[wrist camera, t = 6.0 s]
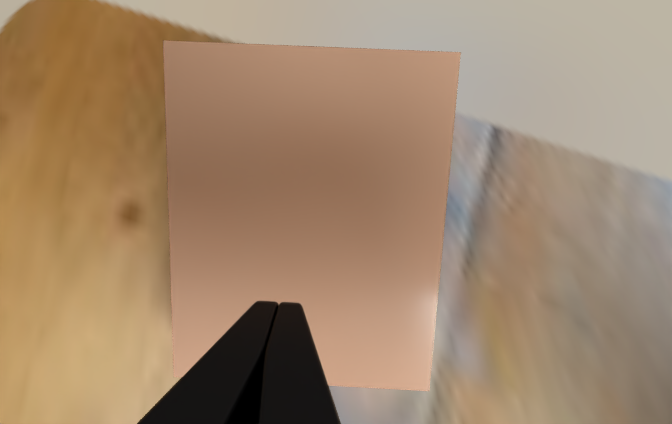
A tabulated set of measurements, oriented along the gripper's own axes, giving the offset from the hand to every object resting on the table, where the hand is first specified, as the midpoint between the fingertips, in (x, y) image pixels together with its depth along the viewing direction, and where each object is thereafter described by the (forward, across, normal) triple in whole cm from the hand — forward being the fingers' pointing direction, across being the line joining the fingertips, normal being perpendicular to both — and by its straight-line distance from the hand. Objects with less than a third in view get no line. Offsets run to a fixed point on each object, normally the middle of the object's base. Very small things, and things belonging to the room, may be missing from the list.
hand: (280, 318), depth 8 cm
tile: (+6, 0, +1) cm, 6 cm away
